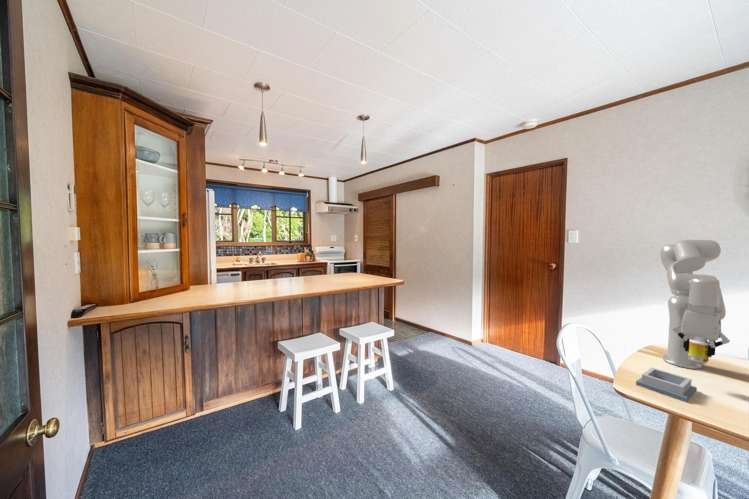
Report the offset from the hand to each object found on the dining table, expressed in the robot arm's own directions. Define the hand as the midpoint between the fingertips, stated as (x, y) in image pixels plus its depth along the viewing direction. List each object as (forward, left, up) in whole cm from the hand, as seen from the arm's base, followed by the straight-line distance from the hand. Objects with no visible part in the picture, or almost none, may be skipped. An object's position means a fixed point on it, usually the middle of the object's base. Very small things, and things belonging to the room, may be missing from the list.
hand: (698, 352), depth 116 cm
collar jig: (+14, -6, -13) cm, 20 cm away
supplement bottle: (0, 0, -3) cm, 3 cm away
